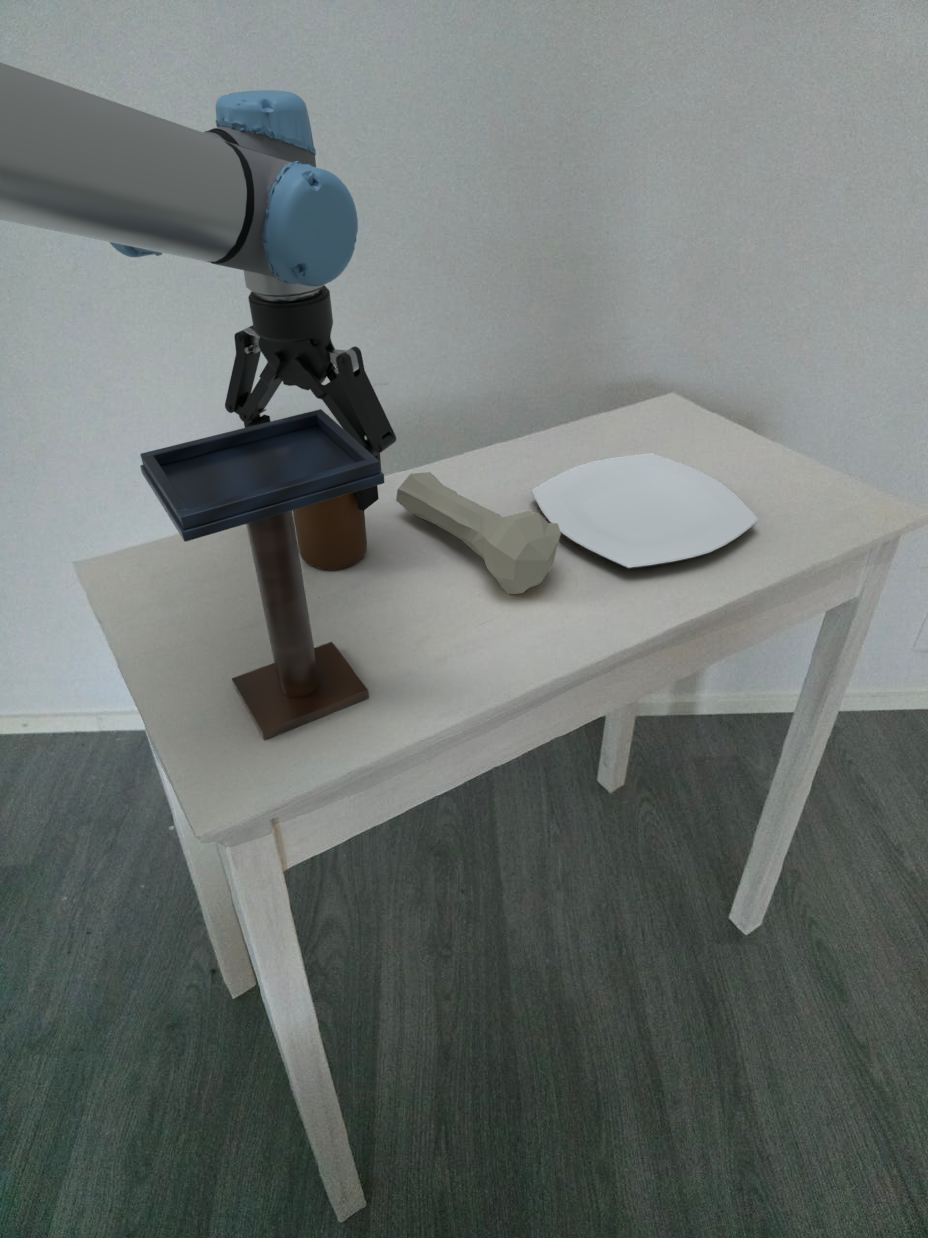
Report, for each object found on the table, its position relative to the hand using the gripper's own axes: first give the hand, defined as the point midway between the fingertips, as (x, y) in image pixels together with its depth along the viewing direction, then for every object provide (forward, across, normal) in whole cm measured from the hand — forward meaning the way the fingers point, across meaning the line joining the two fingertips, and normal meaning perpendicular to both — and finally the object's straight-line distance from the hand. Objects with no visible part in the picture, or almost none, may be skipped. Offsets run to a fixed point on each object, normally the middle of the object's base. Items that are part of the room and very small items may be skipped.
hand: (317, 488), depth 91 cm
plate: (+8, -30, -23) cm, 38 cm away
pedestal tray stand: (+7, -13, +21) cm, 25 cm away
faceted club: (+8, -15, -8) cm, 18 cm away
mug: (+7, 0, 0) cm, 7 cm away
